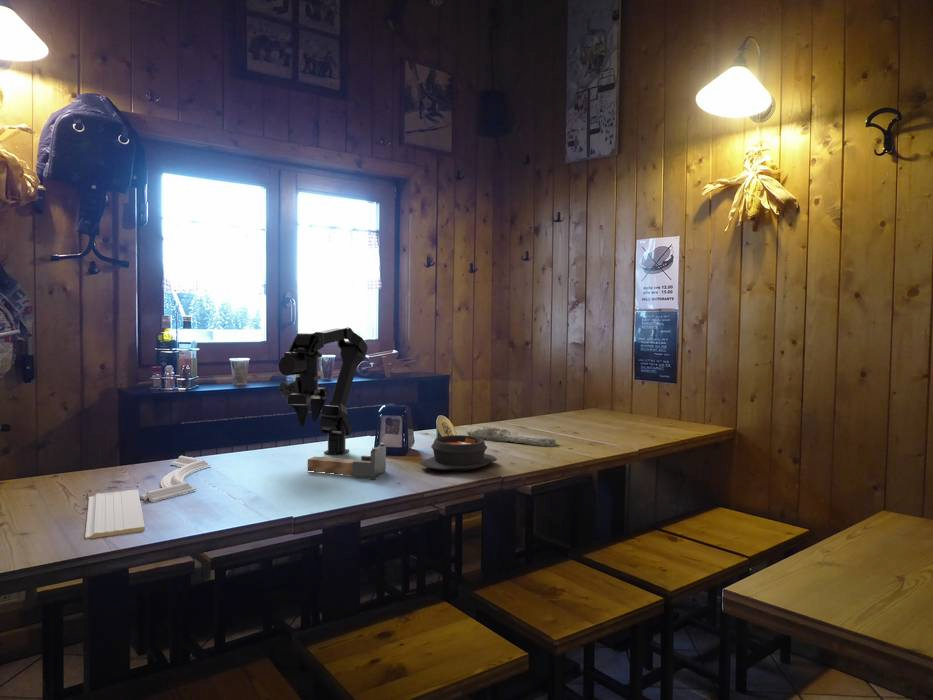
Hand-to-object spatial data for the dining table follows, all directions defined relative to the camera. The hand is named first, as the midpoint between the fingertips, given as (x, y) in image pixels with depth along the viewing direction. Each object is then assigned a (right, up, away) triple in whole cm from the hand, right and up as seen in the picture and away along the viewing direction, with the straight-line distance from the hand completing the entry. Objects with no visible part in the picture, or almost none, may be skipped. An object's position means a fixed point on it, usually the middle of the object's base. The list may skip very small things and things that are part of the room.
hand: (308, 423), depth 192 cm
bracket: (+21, -13, -14) cm, 28 cm away
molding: (-31, -13, -22) cm, 41 cm away
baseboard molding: (-31, -15, -52) cm, 62 cm away
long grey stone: (+64, -12, +40) cm, 76 cm away
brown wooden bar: (+12, -13, -12) cm, 21 cm away
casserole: (+46, -13, -2) cm, 48 cm away
